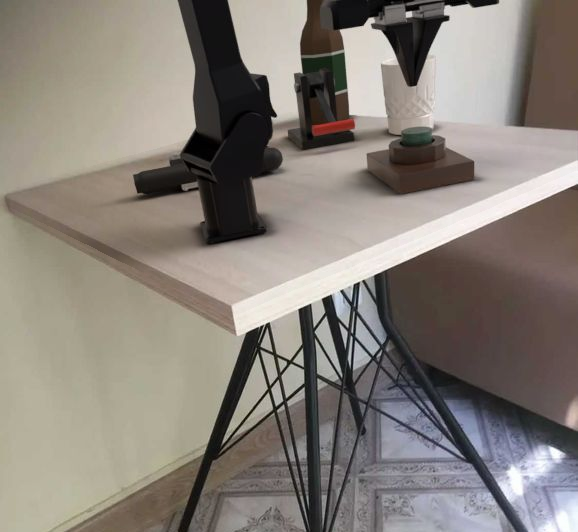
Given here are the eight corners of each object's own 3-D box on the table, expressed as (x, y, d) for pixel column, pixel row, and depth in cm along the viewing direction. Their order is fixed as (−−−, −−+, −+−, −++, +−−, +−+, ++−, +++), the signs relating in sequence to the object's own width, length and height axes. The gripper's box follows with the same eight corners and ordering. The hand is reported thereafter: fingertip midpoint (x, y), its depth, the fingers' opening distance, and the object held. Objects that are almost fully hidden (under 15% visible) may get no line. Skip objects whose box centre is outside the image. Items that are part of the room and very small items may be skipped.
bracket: (354, 140, 104) (348, 71, 100) (302, 149, 103) (294, 80, 99) (335, 128, 113) (330, 64, 108) (288, 137, 112) (280, 73, 107)
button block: (474, 179, 80) (474, 144, 78) (400, 194, 79) (398, 159, 77) (433, 157, 90) (432, 126, 88) (367, 170, 89) (365, 138, 87)
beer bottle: (357, 113, 121) (345, -43, 110) (342, 124, 115) (327, -41, 104) (316, 115, 125) (300, -37, 113) (299, 125, 119) (280, -34, 107)
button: (437, 145, 81) (436, 130, 81) (408, 150, 81) (407, 135, 80) (425, 139, 85) (424, 124, 84) (397, 144, 84) (396, 130, 83)
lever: (354, 133, 100) (355, 120, 98) (314, 141, 99) (314, 127, 97) (330, 82, 106) (331, 69, 104) (292, 89, 106) (292, 75, 104)
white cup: (425, 136, 101) (423, 63, 96) (376, 136, 105) (371, 65, 100) (445, 123, 106) (443, 53, 101) (397, 123, 110) (394, 56, 105)
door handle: (129, 158, 102) (132, 176, 88) (260, 133, 105) (285, 148, 91) (134, 180, 104) (138, 202, 89) (264, 156, 107) (288, 173, 92)
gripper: (456, -78, 80) (458, 66, 88) (300, -55, 78) (316, 90, 85) (503, -87, 71) (500, 75, 78) (326, -61, 68) (341, 103, 76)
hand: (411, 86), depth 80 cm, fingers closed
